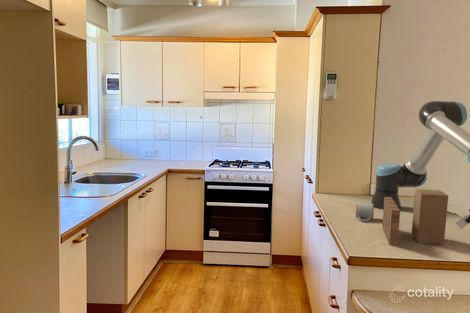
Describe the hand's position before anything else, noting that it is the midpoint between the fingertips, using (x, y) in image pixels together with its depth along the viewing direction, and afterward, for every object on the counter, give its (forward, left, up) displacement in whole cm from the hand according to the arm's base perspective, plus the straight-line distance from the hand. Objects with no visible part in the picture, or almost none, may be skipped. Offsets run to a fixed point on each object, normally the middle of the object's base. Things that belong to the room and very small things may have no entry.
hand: (458, 226), depth 155 cm
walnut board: (+17, -18, -7) cm, 26 cm away
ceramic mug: (+7, -40, -7) cm, 42 cm away
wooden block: (+7, -8, -7) cm, 13 cm away
